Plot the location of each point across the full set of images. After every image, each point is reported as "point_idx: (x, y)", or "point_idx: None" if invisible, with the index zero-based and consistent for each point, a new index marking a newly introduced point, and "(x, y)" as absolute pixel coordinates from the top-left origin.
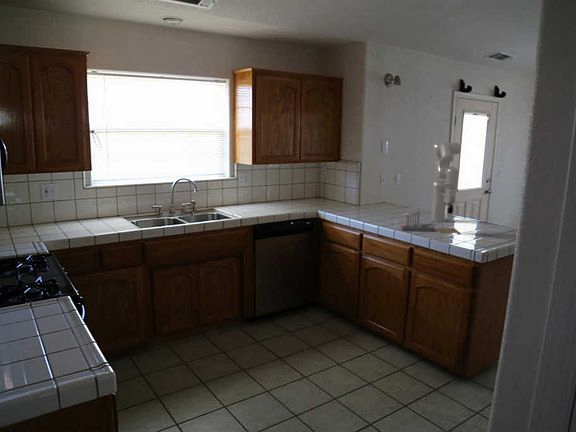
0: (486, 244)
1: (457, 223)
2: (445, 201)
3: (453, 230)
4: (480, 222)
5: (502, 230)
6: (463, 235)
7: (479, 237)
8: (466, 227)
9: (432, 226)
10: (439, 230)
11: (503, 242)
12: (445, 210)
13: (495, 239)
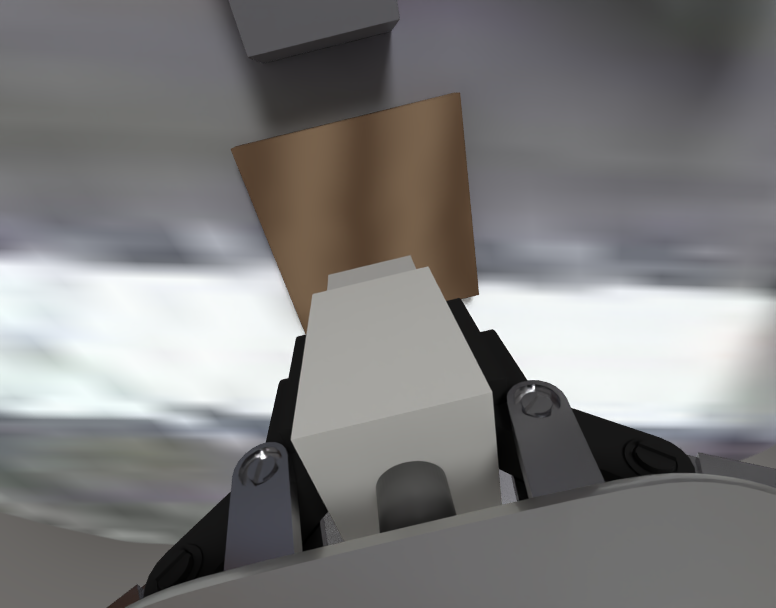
0: (62, 467)
1: (732, 318)
2: (493, 551)
3: None
4: (732, 444)
5: None
6: (278, 349)
7: (264, 437)
8: (581, 373)
9: (341, 21)
10: (326, 136)
11: None
12: (422, 307)
13: None
